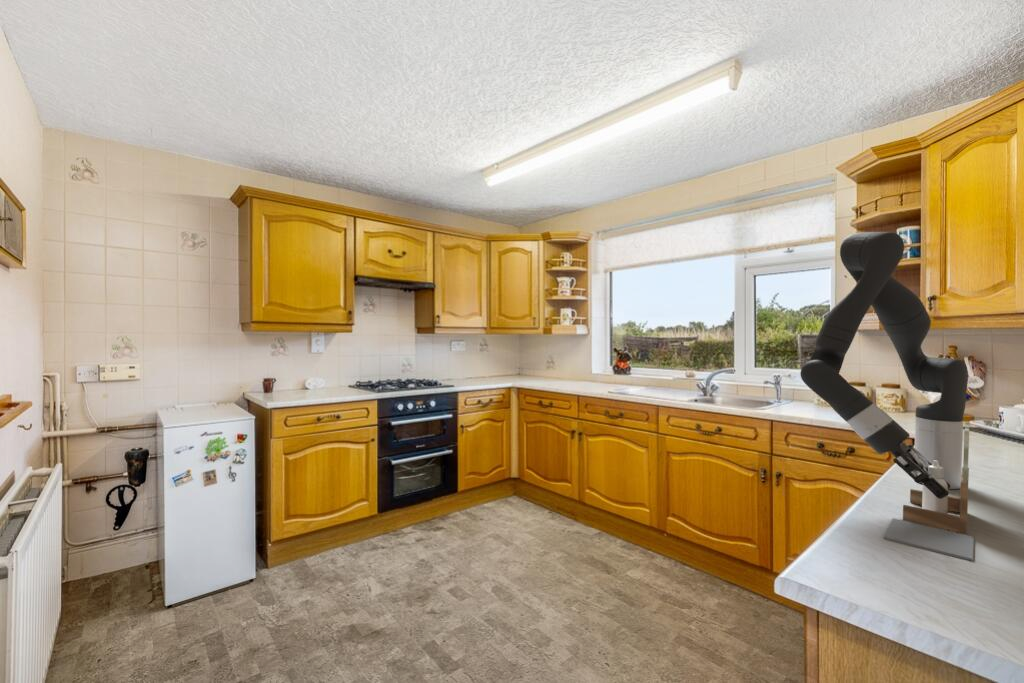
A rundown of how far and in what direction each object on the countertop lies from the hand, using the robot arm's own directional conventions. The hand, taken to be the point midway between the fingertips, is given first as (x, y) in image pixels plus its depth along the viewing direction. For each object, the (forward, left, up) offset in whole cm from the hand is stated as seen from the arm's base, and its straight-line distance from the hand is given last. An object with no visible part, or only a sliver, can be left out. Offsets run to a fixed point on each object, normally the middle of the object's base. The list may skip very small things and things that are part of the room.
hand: (945, 492), depth 98 cm
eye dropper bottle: (0, -2, -6) cm, 6 cm away
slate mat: (+16, -2, -6) cm, 17 cm away
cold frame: (0, -2, -6) cm, 6 cm away
